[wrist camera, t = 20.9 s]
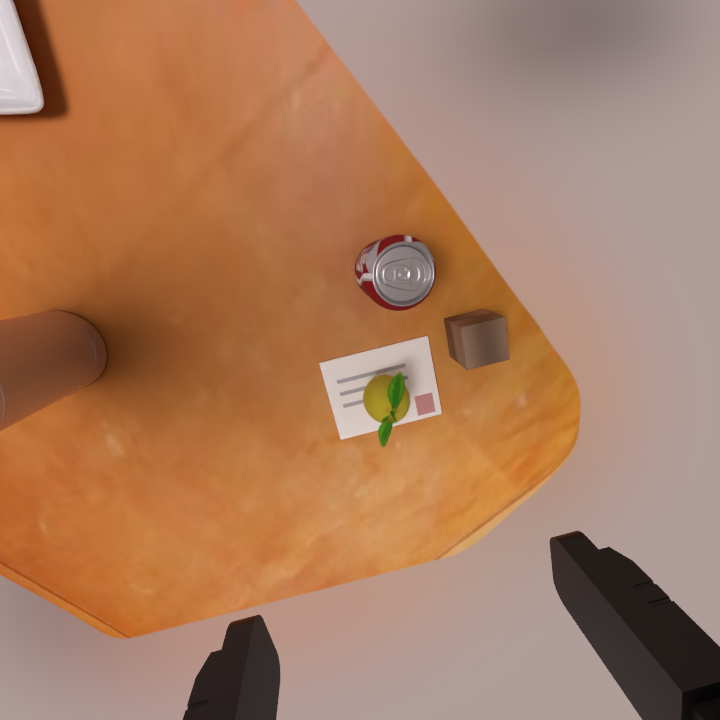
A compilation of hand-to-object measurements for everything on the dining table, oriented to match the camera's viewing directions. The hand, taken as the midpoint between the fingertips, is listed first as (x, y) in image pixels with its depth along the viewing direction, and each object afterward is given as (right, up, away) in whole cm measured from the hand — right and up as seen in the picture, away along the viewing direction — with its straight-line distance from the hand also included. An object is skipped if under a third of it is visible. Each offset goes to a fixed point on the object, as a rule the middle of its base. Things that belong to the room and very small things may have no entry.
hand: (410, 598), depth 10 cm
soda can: (+1, +17, +33) cm, 37 cm away
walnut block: (+12, +10, +36) cm, 39 cm away
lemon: (+1, +3, +37) cm, 37 cm away
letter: (+2, +3, +37) cm, 37 cm away
